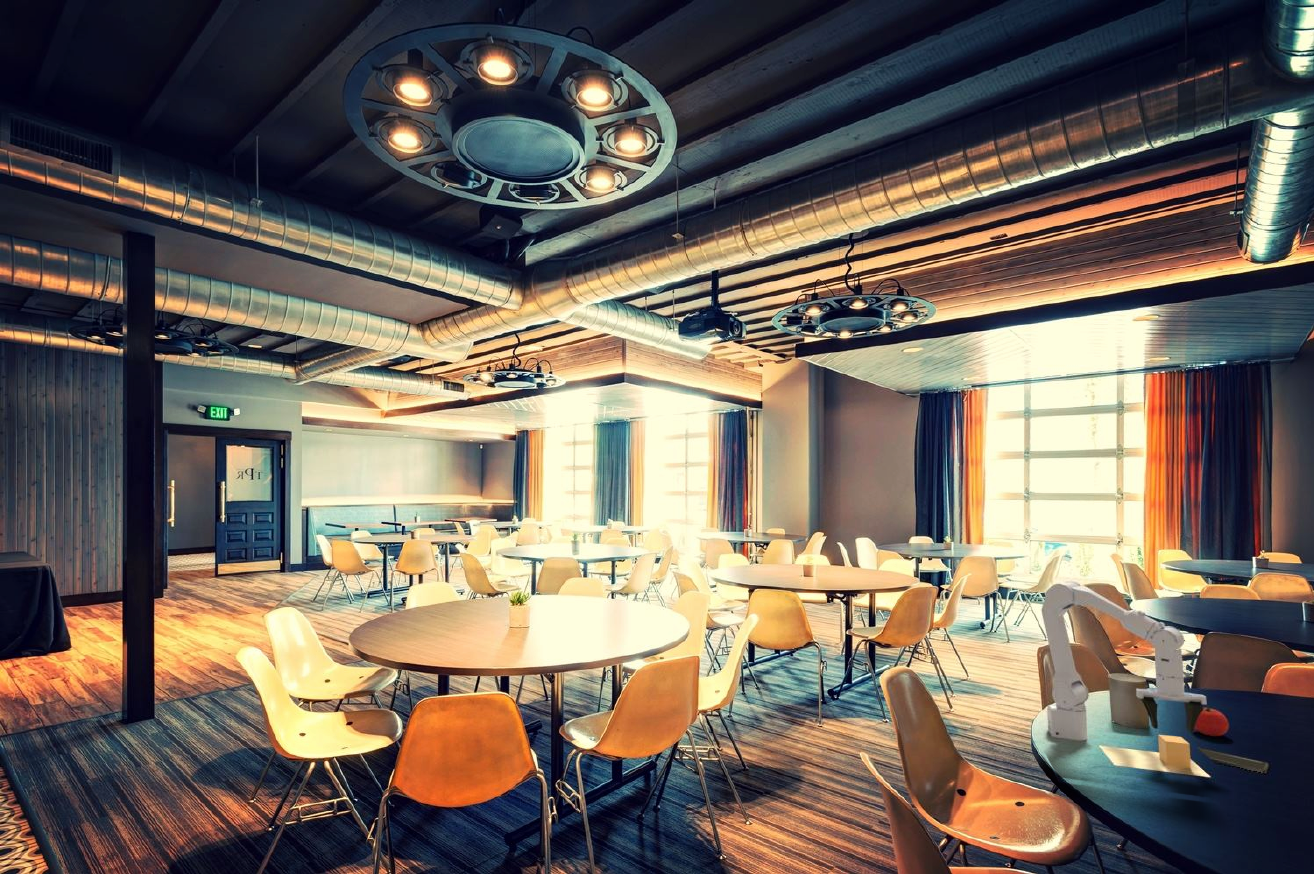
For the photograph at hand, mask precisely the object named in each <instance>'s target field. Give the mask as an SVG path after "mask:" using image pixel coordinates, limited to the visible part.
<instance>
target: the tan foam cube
mask: <svg viewBox="0 0 1314 874" xmlns="http://www.w3.org/2000/svg"><path fill="white" fill-rule="evenodd" d="M1157 737H1158V739H1157V740H1158V753H1159V758H1160V759H1161V760H1162V761H1163V762H1164V763H1165V764H1166V765H1167V766H1174V767H1182V768H1190V769H1191V762H1190V759H1191V749H1190V746H1191V745H1190V743H1189V742H1188V741H1187V740H1185V739H1184V738H1183V737H1182V736H1177V735H1176V736H1175V735H1168V734H1167V735H1165V734H1164V735H1163V734H1158V735H1157Z"/></svg>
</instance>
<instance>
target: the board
mask: <svg viewBox="0 0 1314 874" xmlns="http://www.w3.org/2000/svg"><path fill="white" fill-rule="evenodd" d="M1098 747H1099V748H1100V749H1101V750H1102V752H1103V753H1104V754H1105V755H1106V757H1107V758H1108V759H1109V761H1111V763H1112V764H1113V765H1114V766H1116V767H1117V766H1118V767H1126V768H1133V769H1141V770H1148V771H1158V772H1165V773H1173V774H1181V775H1189V776H1197V777H1205V778H1211V775H1209V774H1208V773H1207V772H1205V770H1203V769H1202V768H1201V767H1200V766H1199V765H1198V764H1197V763H1196V762H1195V761H1194V760H1192V759H1191V758H1190V762H1191V769H1190V768H1182V767H1174V766H1167V765H1166V764H1165V763H1164V762H1163V761H1162V760H1161V759H1160V758H1159V751H1158V752H1156V751H1147V750H1140V749H1139V750H1138V749H1131V748H1123V747H1112V746H1106V745H1105V746H1104V745H1098Z"/></svg>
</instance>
